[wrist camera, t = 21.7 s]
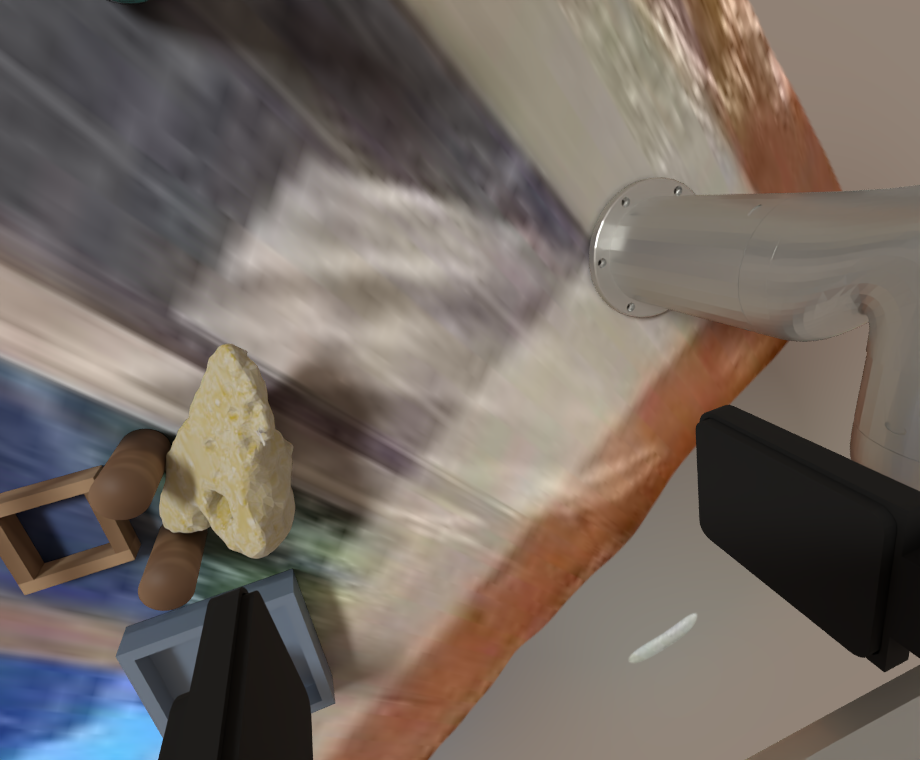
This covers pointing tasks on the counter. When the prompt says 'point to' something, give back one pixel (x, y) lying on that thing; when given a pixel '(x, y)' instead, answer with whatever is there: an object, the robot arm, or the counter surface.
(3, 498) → the dowel socket
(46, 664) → the counter surface
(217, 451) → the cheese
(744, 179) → the counter surface
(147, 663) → the tray
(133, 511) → the peg
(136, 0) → the beverage bottle
